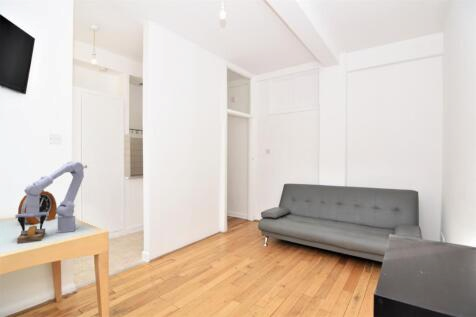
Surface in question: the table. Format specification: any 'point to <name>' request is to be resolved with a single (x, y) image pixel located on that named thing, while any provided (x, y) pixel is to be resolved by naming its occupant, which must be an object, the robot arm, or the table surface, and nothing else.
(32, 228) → the orange upright block
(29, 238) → the shelf
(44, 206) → the alarm clock
